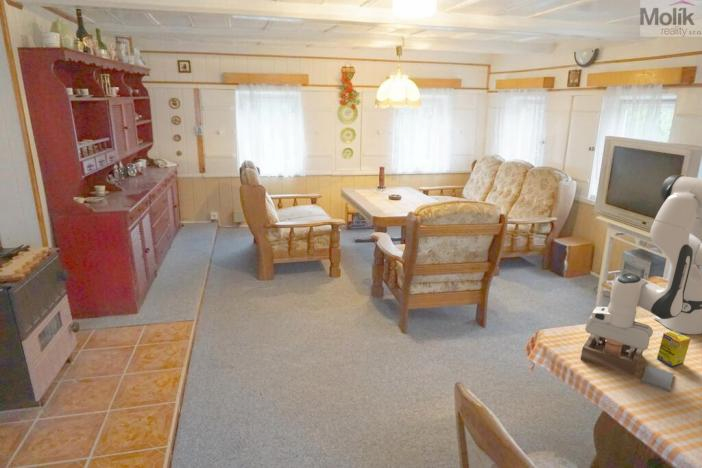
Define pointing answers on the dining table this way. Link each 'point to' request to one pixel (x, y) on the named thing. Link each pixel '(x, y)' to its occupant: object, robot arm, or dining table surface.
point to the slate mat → (657, 378)
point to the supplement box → (673, 348)
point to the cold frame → (611, 357)
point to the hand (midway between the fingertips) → (612, 350)
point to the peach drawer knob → (613, 347)
